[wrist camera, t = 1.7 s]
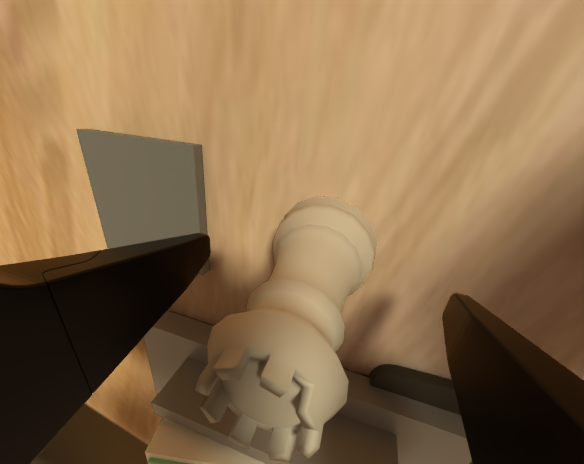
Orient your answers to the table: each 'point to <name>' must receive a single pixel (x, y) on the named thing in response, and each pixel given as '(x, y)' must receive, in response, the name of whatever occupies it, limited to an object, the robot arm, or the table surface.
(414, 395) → the phone
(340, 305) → the rook chess piece
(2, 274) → the robot arm
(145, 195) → the rubber pad
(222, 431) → the grey stand
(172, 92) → the table surface
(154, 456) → the rocker
